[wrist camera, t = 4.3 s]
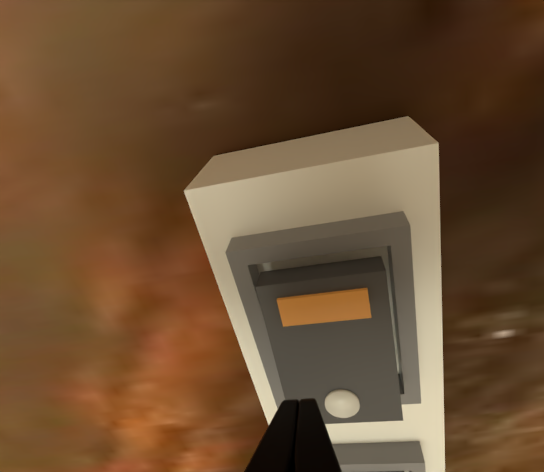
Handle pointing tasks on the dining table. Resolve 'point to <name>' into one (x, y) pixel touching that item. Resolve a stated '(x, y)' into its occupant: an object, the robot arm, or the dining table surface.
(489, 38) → the dining table surface
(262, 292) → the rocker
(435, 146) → the switch box
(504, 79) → the dining table surface
